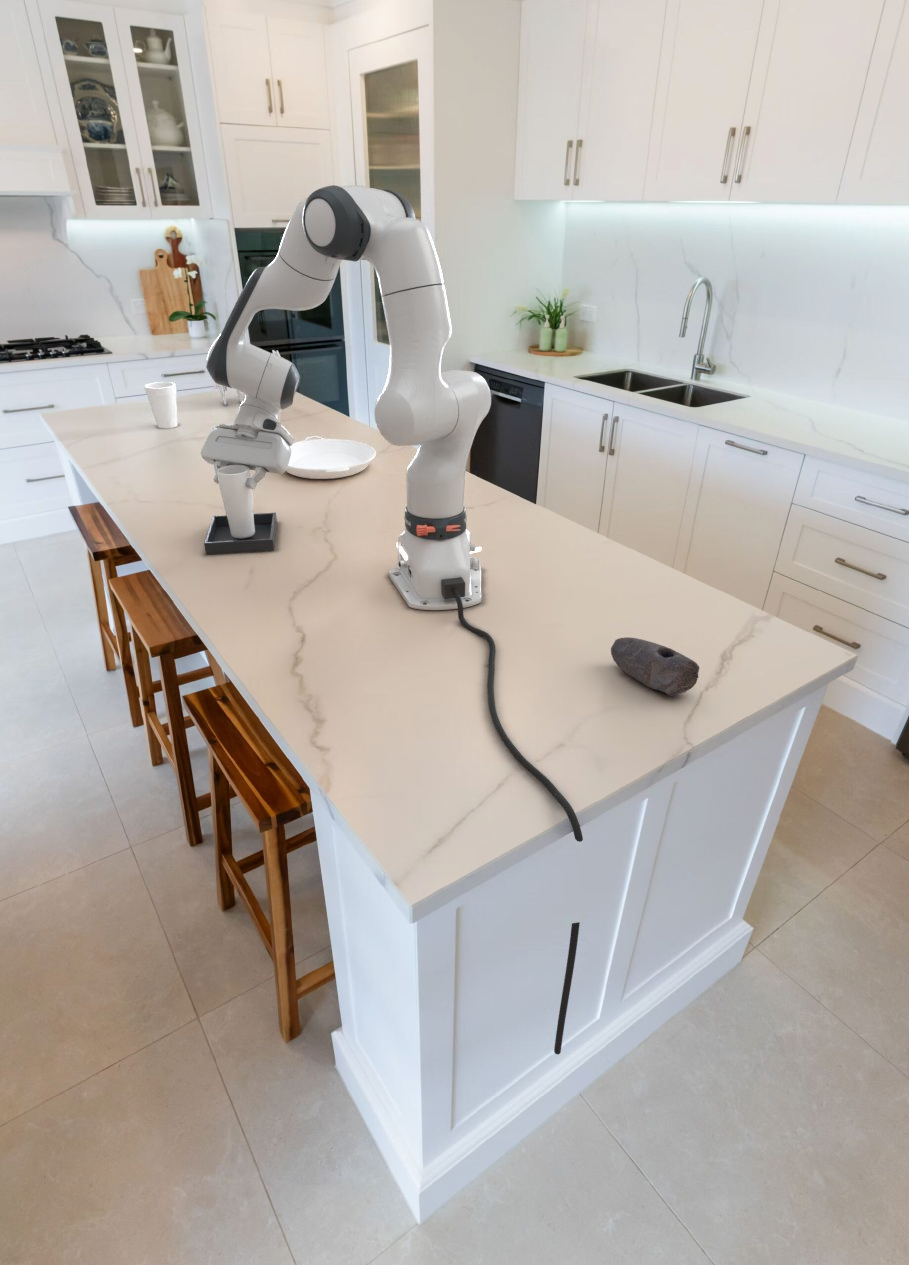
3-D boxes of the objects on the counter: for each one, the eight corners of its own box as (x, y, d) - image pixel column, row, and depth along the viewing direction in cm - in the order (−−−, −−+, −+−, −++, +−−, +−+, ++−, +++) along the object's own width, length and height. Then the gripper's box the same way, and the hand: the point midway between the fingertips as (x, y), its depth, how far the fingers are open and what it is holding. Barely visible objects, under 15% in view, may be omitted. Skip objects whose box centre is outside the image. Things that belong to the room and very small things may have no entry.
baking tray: (274, 550, 159) (272, 539, 157) (206, 554, 157) (204, 543, 155) (277, 523, 172) (275, 512, 171) (214, 526, 170) (212, 515, 169)
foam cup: (153, 423, 245) (145, 382, 239) (182, 421, 248) (175, 381, 241) (152, 430, 238) (144, 389, 231) (182, 428, 240) (175, 387, 233)
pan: (392, 480, 199) (391, 464, 197) (286, 492, 190) (285, 476, 188) (359, 445, 226) (358, 431, 223) (265, 455, 217) (263, 440, 214)
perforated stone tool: (600, 666, 121) (604, 630, 117) (620, 655, 124) (625, 620, 120) (676, 709, 111) (684, 671, 108) (696, 696, 114) (705, 658, 110)
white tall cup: (251, 542, 160) (240, 475, 153) (222, 539, 162) (210, 473, 154) (264, 530, 166) (254, 465, 158) (236, 527, 167) (225, 463, 160)
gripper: (207, 415, 161) (185, 472, 158) (287, 425, 154) (266, 484, 151) (223, 430, 166) (202, 485, 164) (301, 440, 160) (281, 498, 157)
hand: (234, 485), depth 157 cm, fingers closed on white tall cup, 7 cm apart
